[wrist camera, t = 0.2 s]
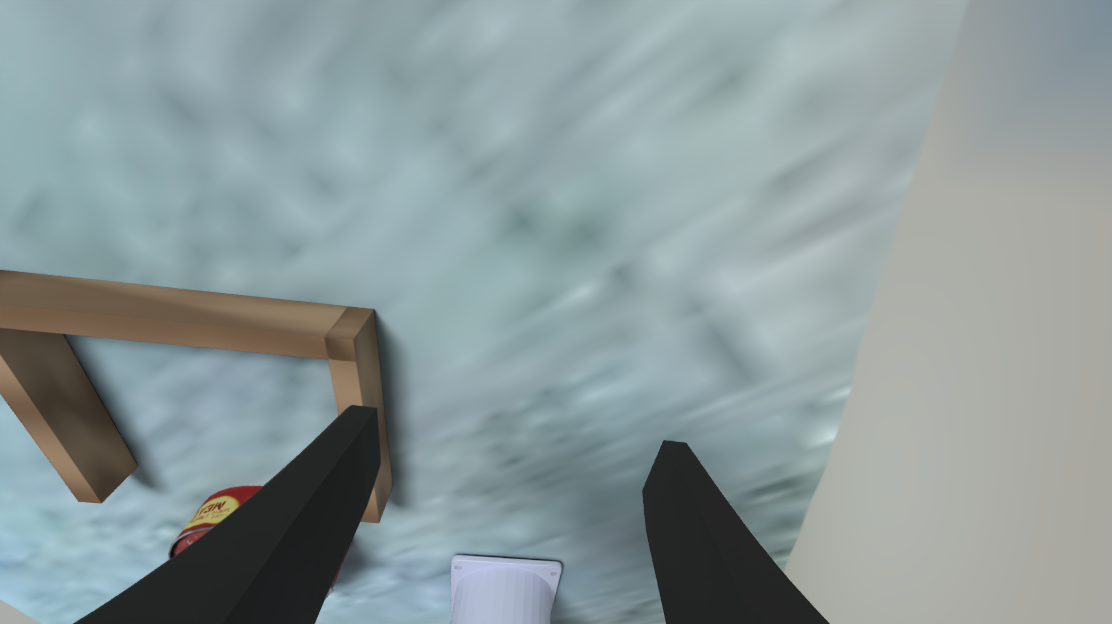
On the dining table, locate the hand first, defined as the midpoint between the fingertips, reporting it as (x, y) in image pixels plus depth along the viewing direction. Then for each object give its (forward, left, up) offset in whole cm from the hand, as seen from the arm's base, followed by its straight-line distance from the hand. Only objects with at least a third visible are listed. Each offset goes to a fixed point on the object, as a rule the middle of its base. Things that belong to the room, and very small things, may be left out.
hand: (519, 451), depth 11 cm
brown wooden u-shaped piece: (-10, +16, -10) cm, 21 cm away
